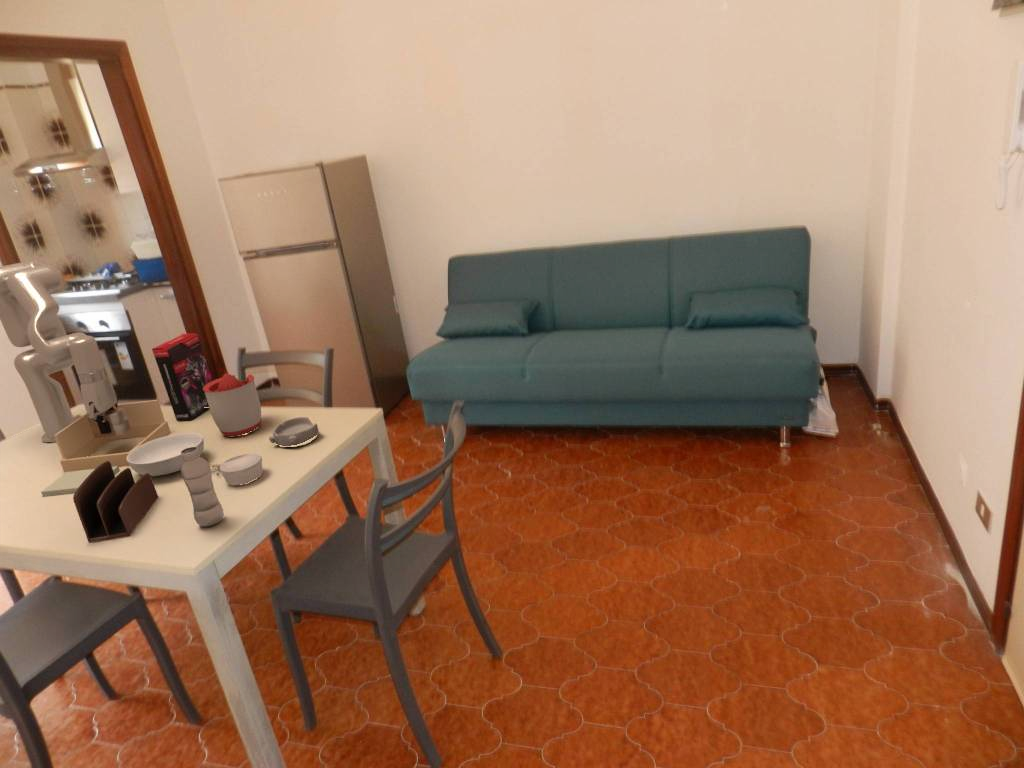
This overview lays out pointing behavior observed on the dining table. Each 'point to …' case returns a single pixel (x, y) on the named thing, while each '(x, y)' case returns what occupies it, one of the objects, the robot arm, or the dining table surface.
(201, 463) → the plastic bottle
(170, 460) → the serving bowl
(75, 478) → the board
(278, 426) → the dish
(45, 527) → the dining table surface
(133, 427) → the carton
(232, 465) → the ramekin
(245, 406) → the citrus juicer
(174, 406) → the graphics card box
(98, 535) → the letter holder
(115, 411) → the walnut box
